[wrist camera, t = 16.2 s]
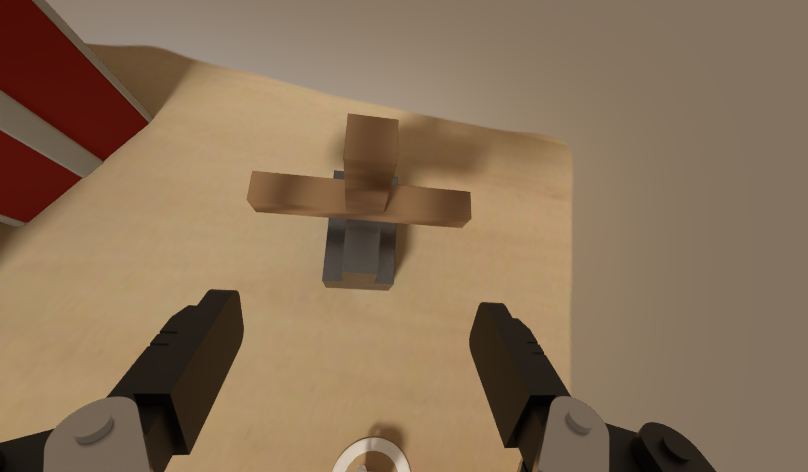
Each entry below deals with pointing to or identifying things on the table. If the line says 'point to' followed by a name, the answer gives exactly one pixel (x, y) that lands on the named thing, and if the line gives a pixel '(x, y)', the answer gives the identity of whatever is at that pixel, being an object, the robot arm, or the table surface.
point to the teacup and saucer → (371, 445)
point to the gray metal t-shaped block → (359, 252)
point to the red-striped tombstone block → (53, 110)
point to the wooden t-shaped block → (361, 185)
